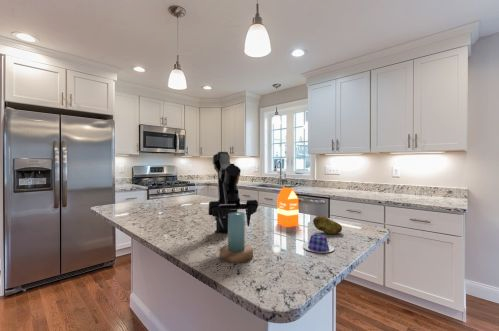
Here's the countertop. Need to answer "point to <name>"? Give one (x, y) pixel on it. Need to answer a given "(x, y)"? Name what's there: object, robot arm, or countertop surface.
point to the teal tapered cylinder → (236, 231)
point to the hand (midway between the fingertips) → (236, 226)
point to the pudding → (318, 244)
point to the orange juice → (287, 207)
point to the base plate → (236, 255)
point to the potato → (327, 225)
